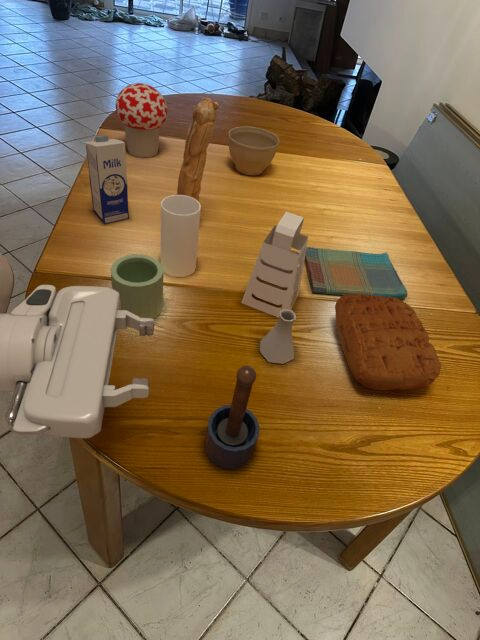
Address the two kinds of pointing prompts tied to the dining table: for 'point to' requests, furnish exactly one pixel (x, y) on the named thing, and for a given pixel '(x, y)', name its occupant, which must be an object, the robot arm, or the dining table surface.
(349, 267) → the dish towel
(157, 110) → the decorative object
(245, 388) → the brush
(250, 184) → the dining table surface
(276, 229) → the grater
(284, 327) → the flask
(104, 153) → the milk carton
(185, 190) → the sculpture
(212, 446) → the holder
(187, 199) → the cup
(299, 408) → the dining table surface
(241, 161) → the planter bowl
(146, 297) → the jar
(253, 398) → the dining table surface
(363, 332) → the cuneiform tablet
